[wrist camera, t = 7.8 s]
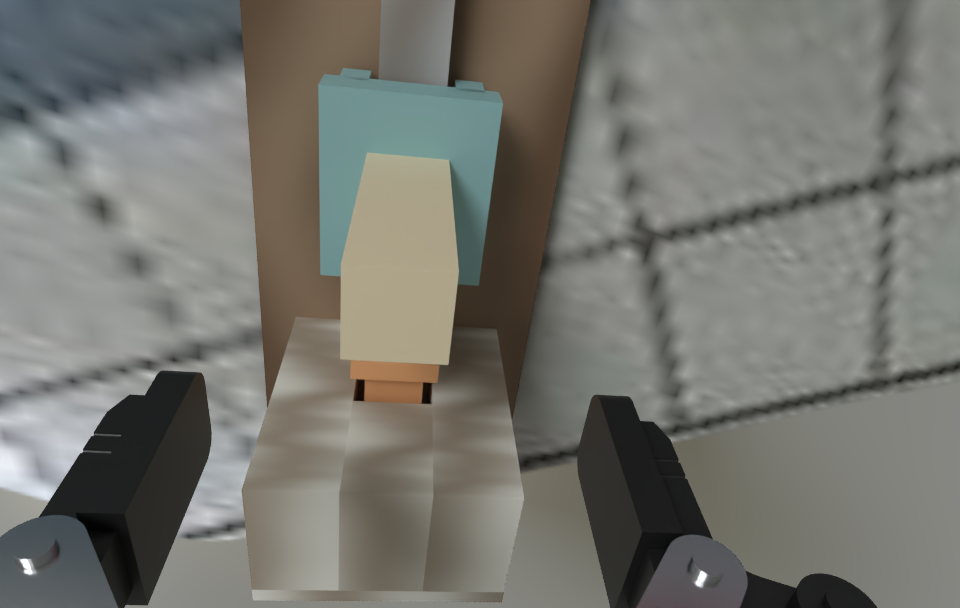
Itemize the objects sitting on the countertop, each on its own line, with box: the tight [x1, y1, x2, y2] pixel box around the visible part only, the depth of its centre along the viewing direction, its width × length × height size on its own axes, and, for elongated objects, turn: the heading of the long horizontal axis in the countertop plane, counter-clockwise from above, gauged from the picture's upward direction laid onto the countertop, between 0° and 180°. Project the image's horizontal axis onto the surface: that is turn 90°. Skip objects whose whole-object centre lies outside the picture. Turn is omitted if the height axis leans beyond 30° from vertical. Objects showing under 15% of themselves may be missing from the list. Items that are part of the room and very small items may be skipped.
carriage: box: [318, 68, 503, 365], centre depth 21 cm, size 6×9×11 cm, turn 173°
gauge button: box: [350, 360, 439, 404], centre depth 27 cm, size 3×6×3 cm, turn 173°
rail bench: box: [240, 0, 591, 602], centre depth 22 cm, size 12×27×11 cm, turn 173°
